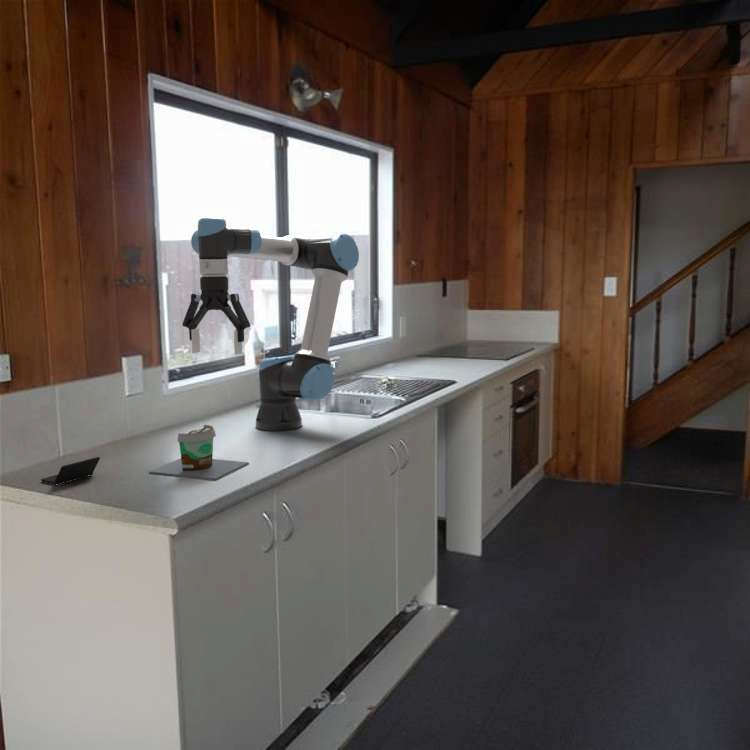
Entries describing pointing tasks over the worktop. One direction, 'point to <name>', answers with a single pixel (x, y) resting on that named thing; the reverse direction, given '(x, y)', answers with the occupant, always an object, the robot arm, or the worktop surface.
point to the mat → (212, 473)
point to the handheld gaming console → (73, 471)
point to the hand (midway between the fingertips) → (217, 353)
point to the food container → (197, 448)
